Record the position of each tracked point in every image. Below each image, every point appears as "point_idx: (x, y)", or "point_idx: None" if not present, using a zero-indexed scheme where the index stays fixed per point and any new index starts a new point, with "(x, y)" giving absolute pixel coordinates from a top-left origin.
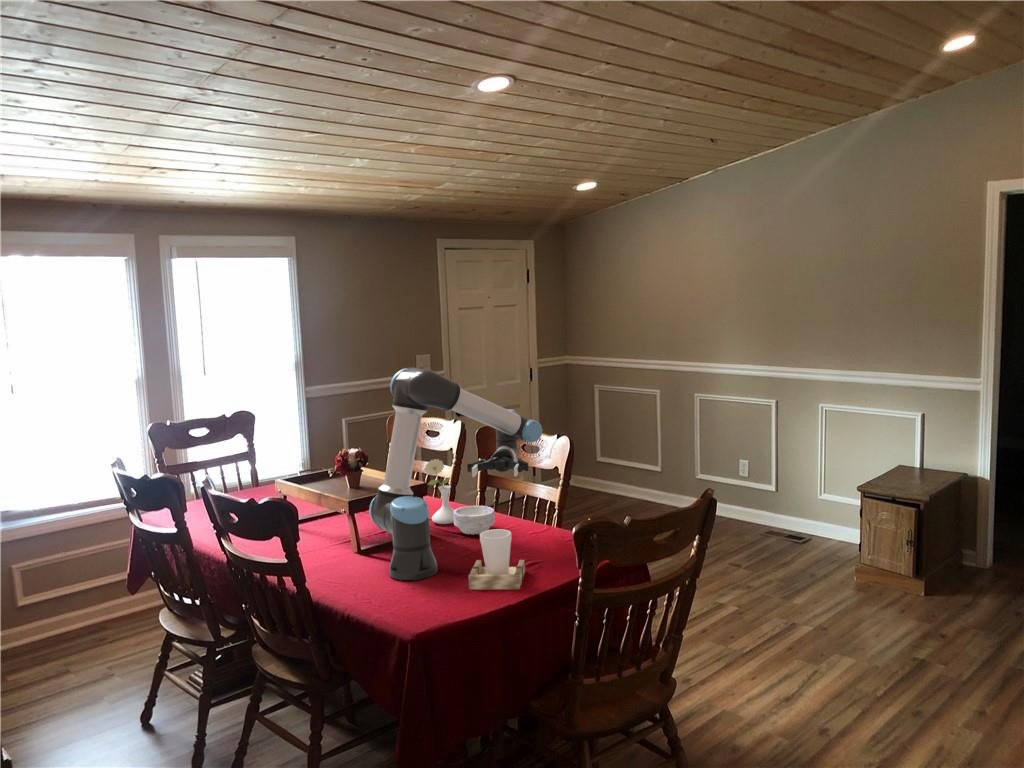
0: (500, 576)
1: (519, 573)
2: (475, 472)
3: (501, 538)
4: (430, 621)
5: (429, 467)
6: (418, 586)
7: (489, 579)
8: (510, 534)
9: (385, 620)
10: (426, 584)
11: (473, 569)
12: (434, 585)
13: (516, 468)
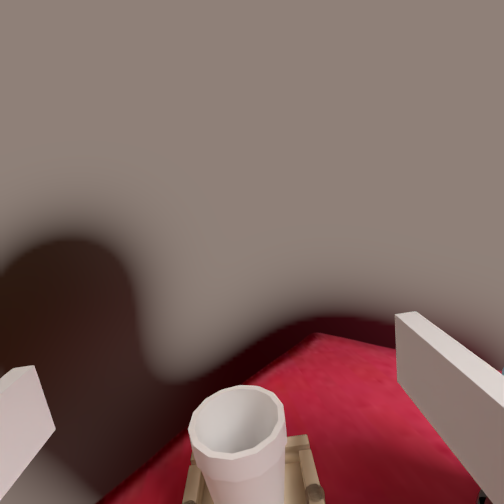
0: None
1: (190, 466)
2: (432, 398)
3: (216, 394)
4: (315, 357)
5: None
6: (442, 461)
7: None
8: (191, 421)
9: (377, 350)
10: (434, 476)
11: (313, 477)
12: (407, 472)
13: (4, 383)
